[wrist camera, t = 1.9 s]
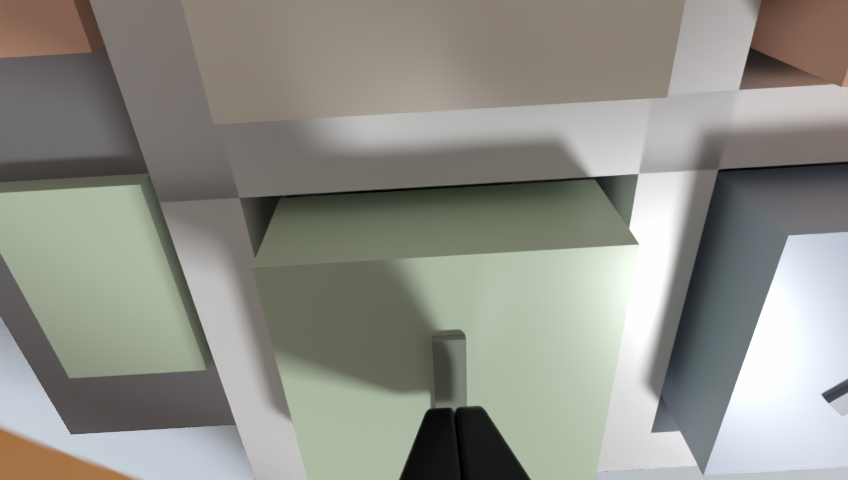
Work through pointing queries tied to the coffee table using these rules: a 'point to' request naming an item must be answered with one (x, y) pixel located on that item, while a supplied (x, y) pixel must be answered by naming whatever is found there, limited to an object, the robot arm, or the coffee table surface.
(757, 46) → the peach flat square block
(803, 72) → the keypad
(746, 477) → the coffee table surface
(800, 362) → the slate key
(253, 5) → the cream key
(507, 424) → the sage key
